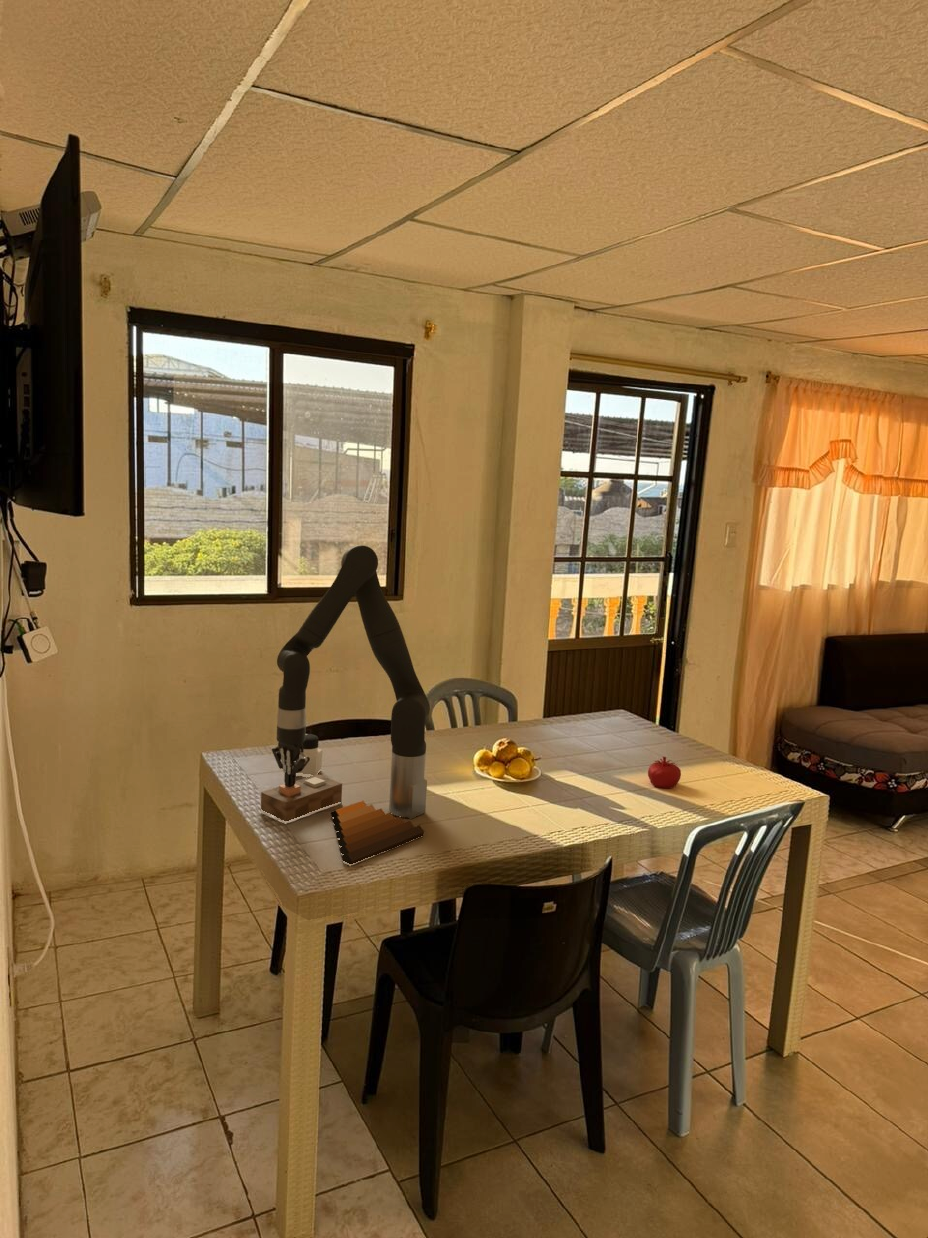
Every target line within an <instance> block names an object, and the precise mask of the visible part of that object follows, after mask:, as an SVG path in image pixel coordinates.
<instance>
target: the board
mask: <svg viewBox="0 0 928 1238" xmlns="http://www.w3.org/2000/svg"><path fill="white" fill-rule="evenodd" d="M314 777H317V778H319V779H322V780H325V785H322V786H319V787H316V788H313V787H311V786H308V785H305V780H308V779H311V778H314ZM295 784H297V785H299V786H301V792H300V793H298V794H295V795H292V796H289V797H288V796H286V795H284V794H281V793H279V786H277V787H273V788H270V789H268V790H264V791H261V792H260V810H261V809H262V810H263V811H265V812H267V813H270V814H272V815H274V816H276V817H277V818H280V819H281V820H284V821H289V820H291V819H294V818H297V817H300V816H302V815H305V814H307V813H309V812H312V811H315V810H318V809H320V808H323V807H326V806H329V805H332V804H335V803H338V802H341V803H342V802H343V801H342V797H343V795H342V794H343V783H341V782H340V781H337V780H334V779H331V778H328V777H326V776H323V775H320V774H319V775H318V774H316V775H313V776H310V777H307V778H304V777H303V778H301V779H298V780H296V781H295Z"/></svg>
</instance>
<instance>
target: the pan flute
mask: <svg viewBox="0 0 928 1238" xmlns="http://www.w3.org/2000/svg"><path fill="white" fill-rule="evenodd" d="M330 815H331V816H332V817H334V819H332V817H331V820H332V823H334V824H335V826H334V825H333V827H334V828H333V829H334V831H335V830H336V831H339V832H337V833H335V836H336V839H337V838H340V840H337V844H338V846H339V845H340V846H342V847H341V848H340V847H339V852H340V854H341V853H342V854H344V855H343V856H342V855H341V859H342V860H343V861H345V862H347V863H349V864H353V863H356V862H358V861H361V860H363V859H365V858H368V857H371V856H373V855H377V854H379V853H381V852H384V851H387V850H389V849H392V848H394V849H396V848H395V847H397V846H399V845H402V844H404V843H406V842H409V841H411V840H413V839H416V838H418V837H421V836H423V837H424V834H425V830H424V829H423V827H422V825H420V824H418V825H416V826H414V824H413V823H412V821H411V820H407V821H404V819H402V818H403V817H398V816H396V817H395V815H393V814H391V812H388V813H385V811H384V810H383V808H379V809H376V808H375V807H374V805H373V804H369V805H367V804H366V802H365V801H364V800H361V801H358V802H355V803H352V804H350V805H346V806H344V807H340V808H338V809H335V810H333V811H331V812H330ZM421 838H422V837H421ZM418 839H419V838H418ZM416 840H417V839H416ZM411 842H412V841H411ZM409 843H410V842H409ZM406 844H407V843H406ZM404 845H405V844H404ZM402 846H403V845H402ZM399 847H400V846H399ZM397 848H398V847H397ZM392 850H393V849H392ZM389 851H390V850H389ZM387 852H388V851H387ZM377 856H378V855H377ZM343 861H342V862H343Z"/></svg>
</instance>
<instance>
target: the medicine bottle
mask: <svg viewBox="0 0 928 1238" xmlns="http://www.w3.org/2000/svg"><path fill="white" fill-rule="evenodd" d="M303 749H304V752H303V753H304V755H305V756H306V757H309V758H310V760H309V762H308V763H307V765H306V766H305V767H304V769H303V770H302V771H301V772H298V773H303V774H311V775H316V774H317V773H318V771H319V770H320V769H321V767H322V768H323V766H322V765H323V749H322V748H319V737H318V736H317V735H315V734H312V733H306V737H305V741H304V742H303Z"/></svg>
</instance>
